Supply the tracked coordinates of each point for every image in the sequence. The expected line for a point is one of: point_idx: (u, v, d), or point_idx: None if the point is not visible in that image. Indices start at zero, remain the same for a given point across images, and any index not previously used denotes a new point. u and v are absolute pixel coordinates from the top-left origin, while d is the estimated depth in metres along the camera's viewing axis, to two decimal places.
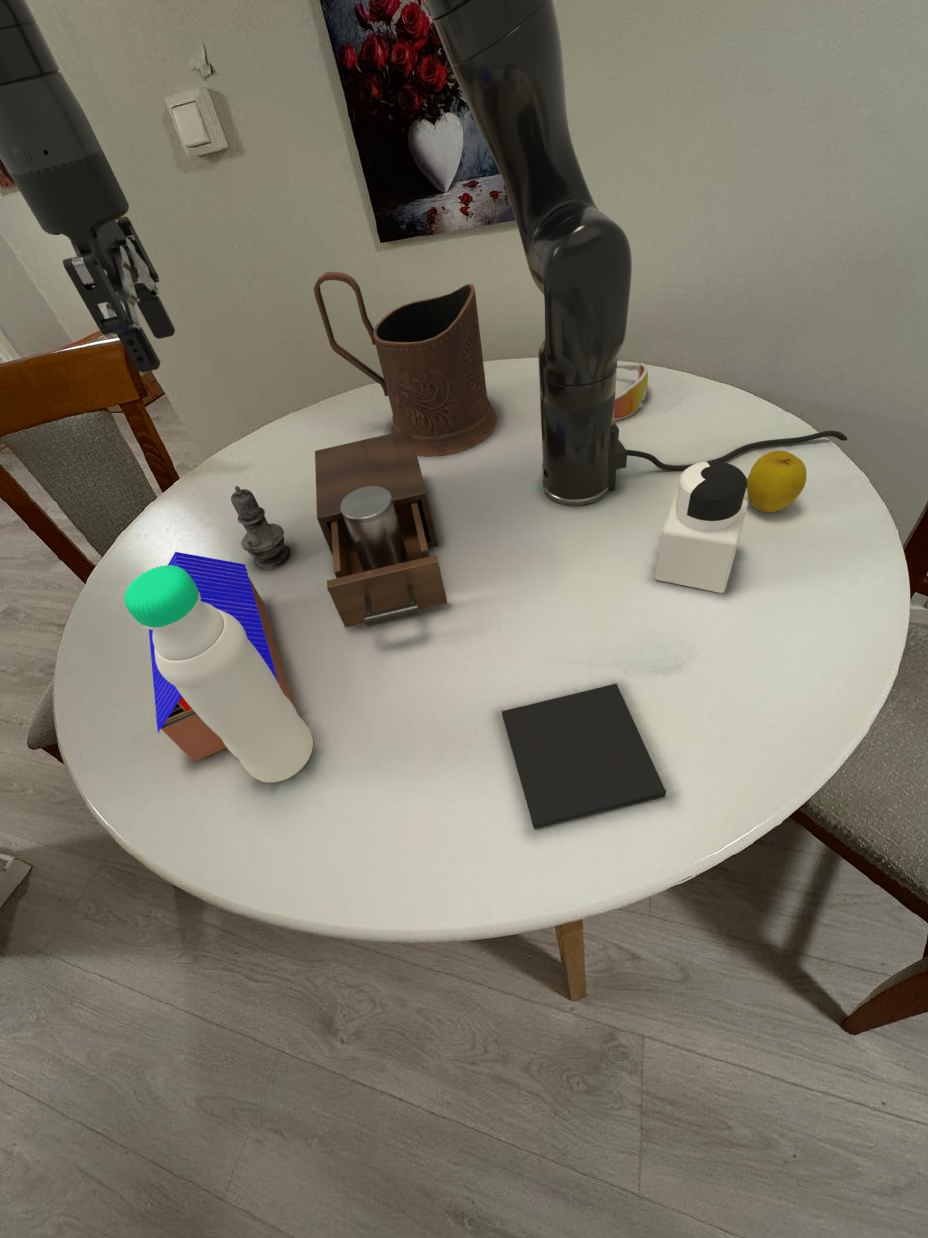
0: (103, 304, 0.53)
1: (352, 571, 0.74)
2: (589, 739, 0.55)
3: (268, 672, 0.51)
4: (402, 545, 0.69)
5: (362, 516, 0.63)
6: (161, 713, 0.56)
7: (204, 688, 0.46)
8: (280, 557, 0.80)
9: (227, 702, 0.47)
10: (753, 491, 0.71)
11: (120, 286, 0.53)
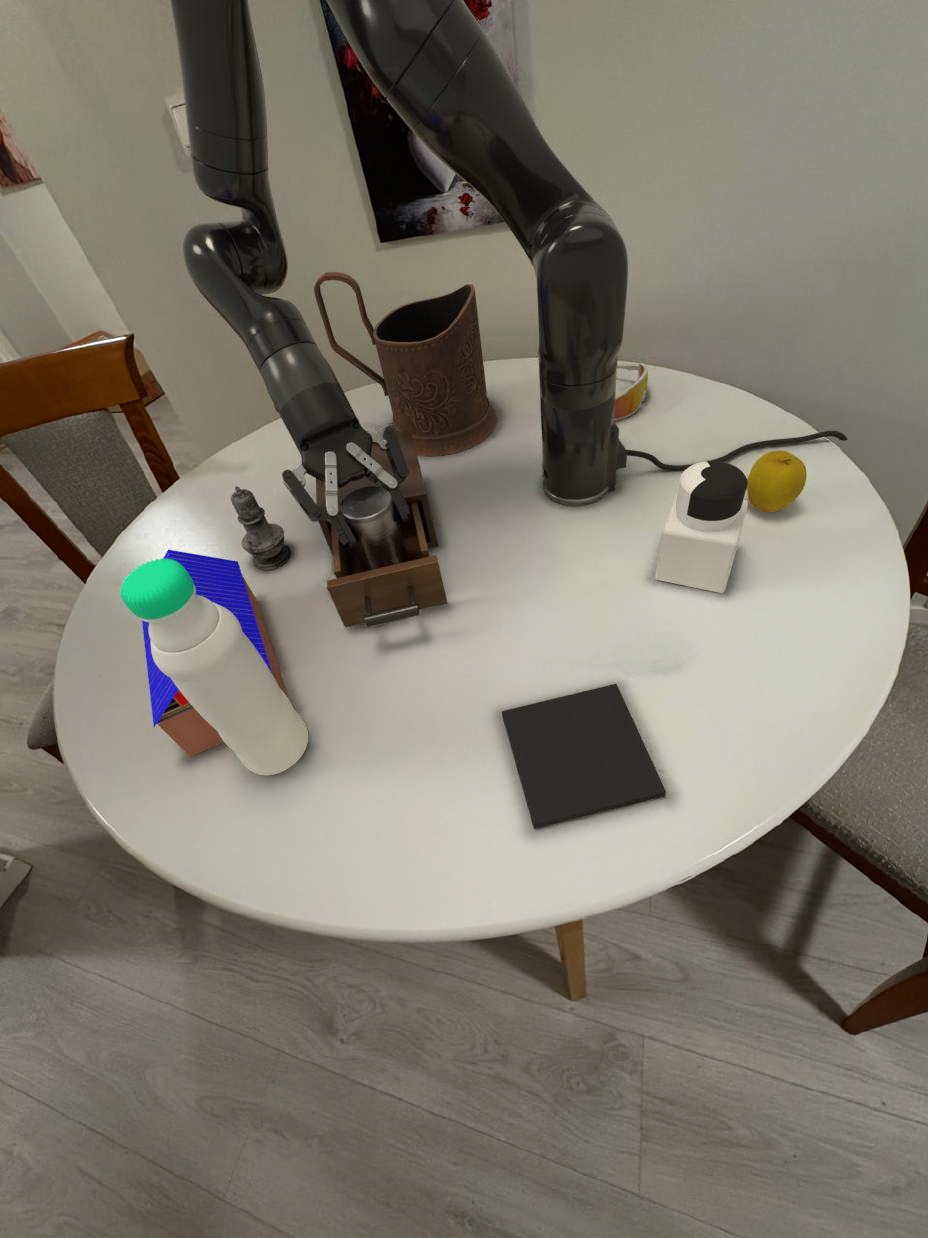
0: (325, 499, 0.66)
1: (352, 571, 0.74)
2: (589, 739, 0.55)
3: (263, 664, 0.52)
4: (401, 545, 0.69)
5: (362, 516, 0.63)
6: (156, 708, 0.57)
7: (200, 680, 0.46)
8: (280, 557, 0.80)
9: (223, 694, 0.48)
10: (753, 491, 0.71)
11: None
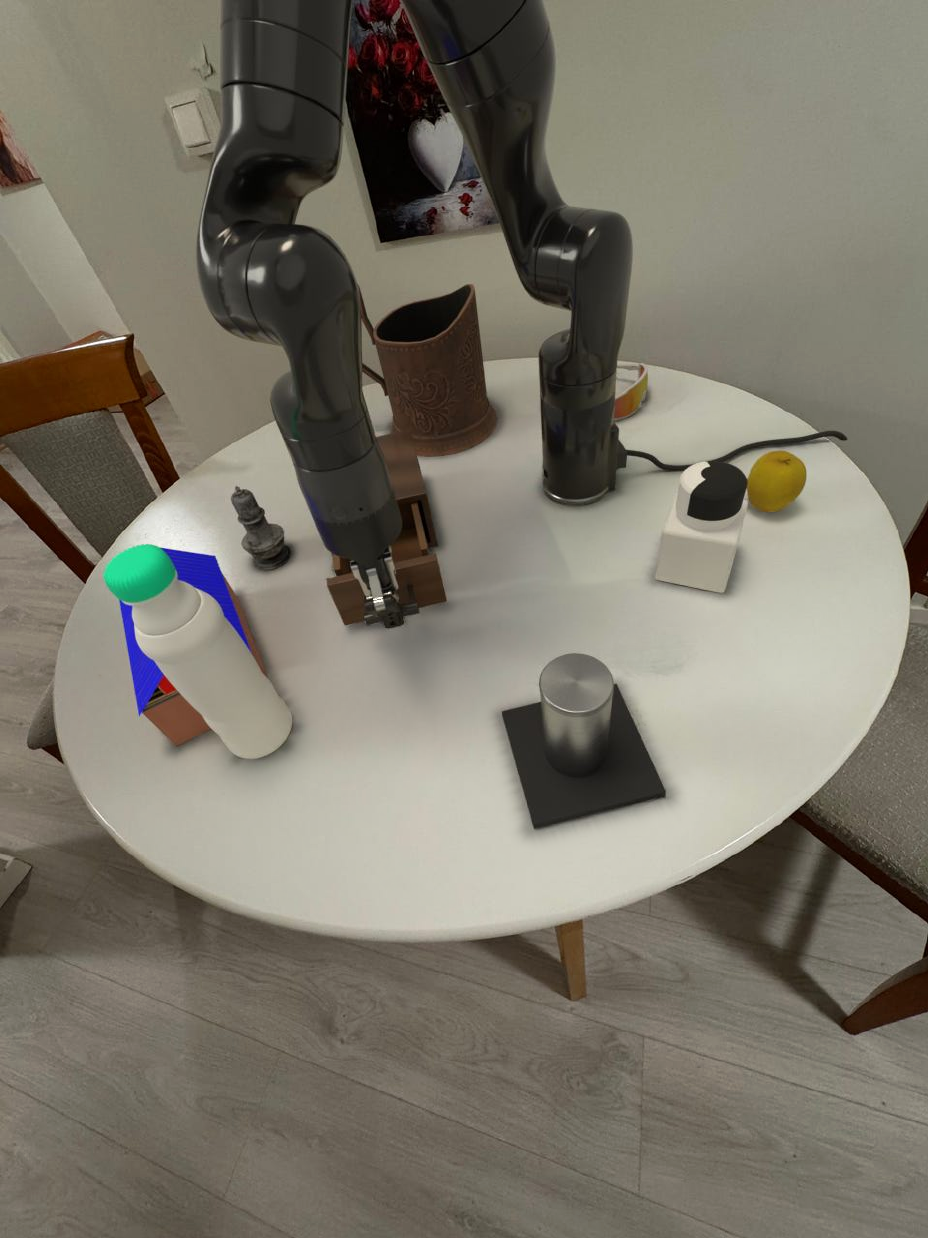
0: None
1: None
2: None
3: (245, 648, 0.53)
4: None
5: (579, 709, 0.45)
6: (141, 697, 0.58)
7: (185, 662, 0.48)
8: (280, 557, 0.80)
9: (207, 676, 0.49)
10: (753, 491, 0.71)
11: (385, 585, 0.56)
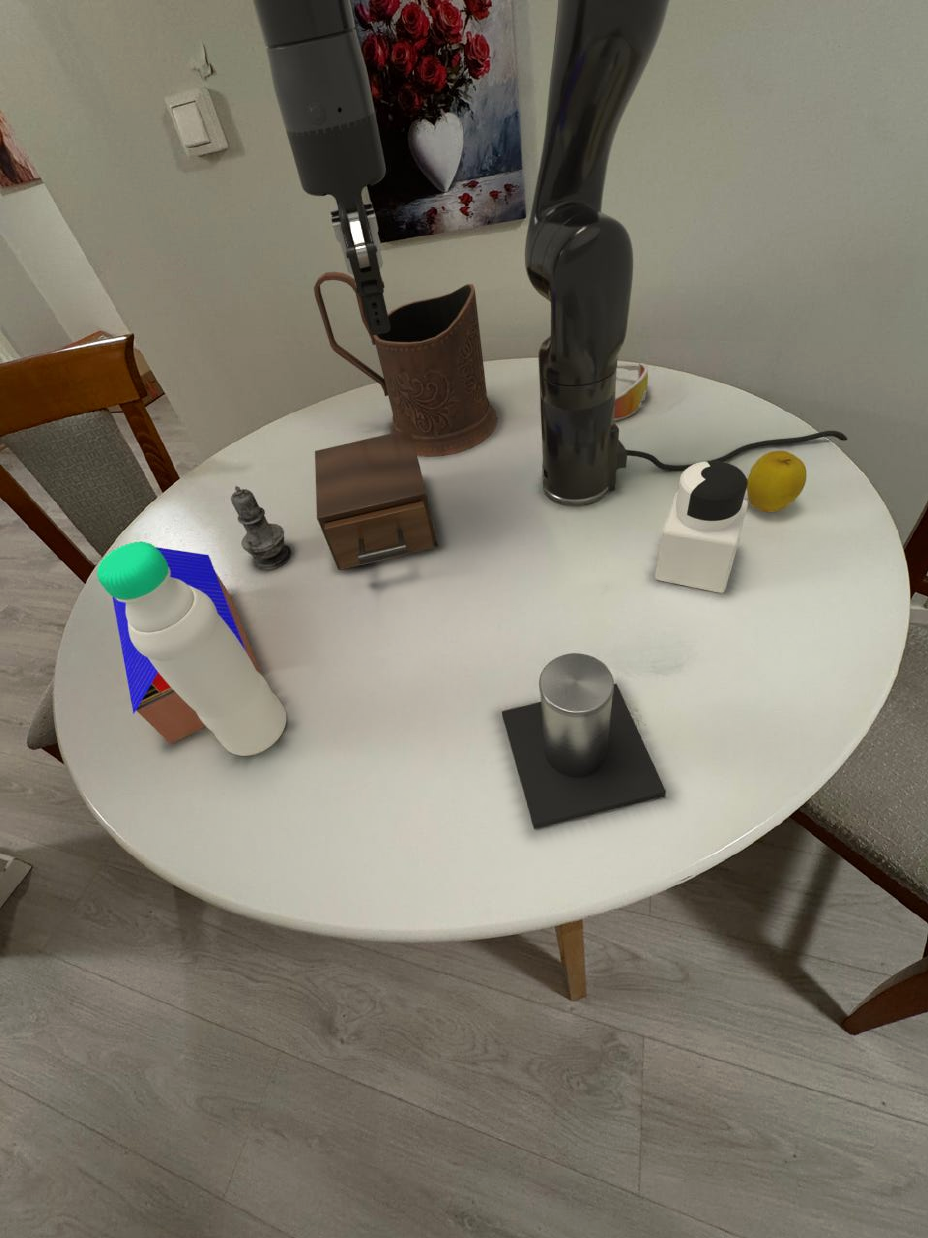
0: None
1: None
2: None
3: (239, 645, 0.54)
4: None
5: (579, 709, 0.45)
6: (135, 695, 0.58)
7: (179, 658, 0.48)
8: (280, 557, 0.80)
9: (201, 672, 0.50)
10: (753, 491, 0.71)
11: None
